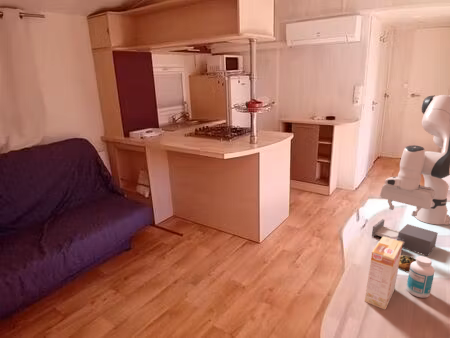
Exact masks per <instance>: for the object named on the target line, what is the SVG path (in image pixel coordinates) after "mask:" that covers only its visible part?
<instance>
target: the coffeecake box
mask: <svg viewBox="0 0 450 338" xmlns="http://www.w3.org/2000/svg"><path fill="white" fill-rule="evenodd" d="M402 244H403V242H401V241H397V240H394V239H390V238H388V237H381V238H380V240H379V241H378V243H377V244H376V246H374V248H373V249H372V252H371V257H370V262H369V263H370V264H369V271H368V278H367V283H366V284H367V285H366V290H365V291H366V292H365V297H364V302H366V303H368V304H370V305H373V306H375V307H377V308H380V309H382V310H386V308H387V307H388V305H389V303H390V300H391V298H392V296H393V294H394V291H395V289H396V283H397V277H398V272H399V268H398V267H399V261H400V256H401V255H402V250H403V247H402Z"/></svg>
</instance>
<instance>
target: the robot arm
mask: <svg viewBox="0 0 450 338" xmlns="http://www.w3.org/2000/svg"><path fill="white" fill-rule="evenodd" d="M420 108H421V113H422V114H423V116H422V118H421V126H422V128H423V130H424V131H425V132H427V133H428V134H429V135H430V136H431V135H432V136H433V139H432V142H433V143H434V145H435V146H437V147H438V148H440V149H441V152H438V151H429V150H427V151H426V150H425V148H424V147H423V146H420V145H415V144H414V145H408V146H405V147H404V148H403V151H402V154H401V157H400V161H399V171H398V173H397V176H390V177H387V178H386V179H385V180H384V184H383V185H382V187H381V189H380V193H379V194H380V195H379V196H380V198H381V199H385V200H387V203H388V205H389V207H388V208H389V210H390V211H393V210H394V209H395V205H393V203H392V202H397V203H402V204H405V205H409V206H413V207H415V210H413V211H412V212H411V214H410V215H411V216H413V217H414V218H415V219H417V220H418V221H421V222H423V223H426V224H430V225H437V226H438V225H445V226H449V225H450V215H449V214H448V208H447V203H448V202H447V201H448V198H447V196H448V192H449V187H450V186H449V183H448V182H447V181H446V180H445V179H444V178H447V177H449V176H450V94H449V95H448V94H440V95H430V96H426V97H425V98H424V100H423V101H422V103H421V107H420ZM422 176H423V179H424V185H421V182H422V181H421V180H422Z"/></svg>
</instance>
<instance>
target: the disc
mask: <svg viewBox="0 0 450 338" xmlns="http://www.w3.org/2000/svg"><path fill="white" fill-rule="evenodd" d="M390 239H394V240H397V241H401V242H403V244H402V246H404V244H405V240H404V239H402V238H399V237H391V238H390Z"/></svg>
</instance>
